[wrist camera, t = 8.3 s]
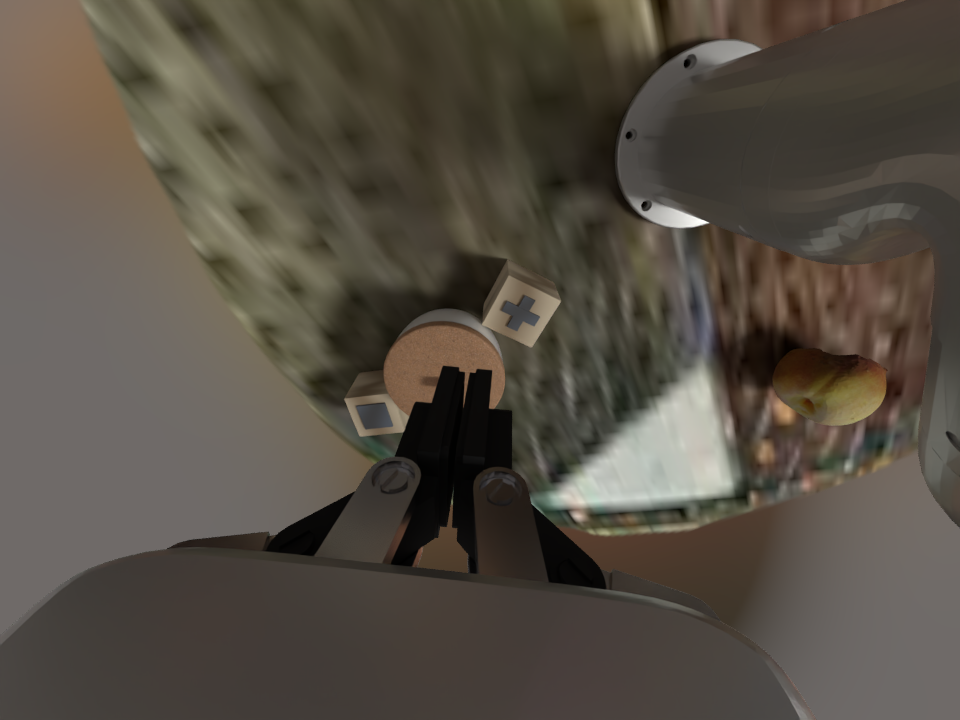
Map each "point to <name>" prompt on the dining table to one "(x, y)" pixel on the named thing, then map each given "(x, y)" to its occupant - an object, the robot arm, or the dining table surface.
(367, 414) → the marked cube 1
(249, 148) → the dining table surface
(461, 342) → the lidded jar
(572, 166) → the dining table surface
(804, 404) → the fruit
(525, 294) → the marked cube 2
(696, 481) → the dining table surface
